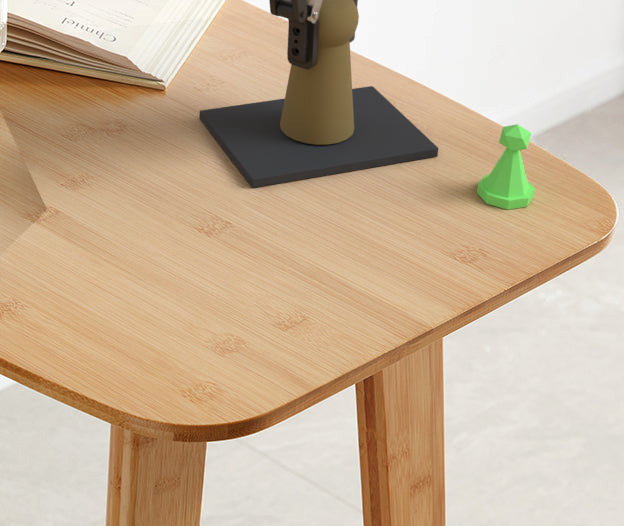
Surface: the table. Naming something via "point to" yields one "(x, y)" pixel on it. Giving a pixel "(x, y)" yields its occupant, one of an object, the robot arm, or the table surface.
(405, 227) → the table surface
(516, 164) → the game piece
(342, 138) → the olive brown pawn
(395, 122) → the back mat
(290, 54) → the robot arm
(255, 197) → the table surface
